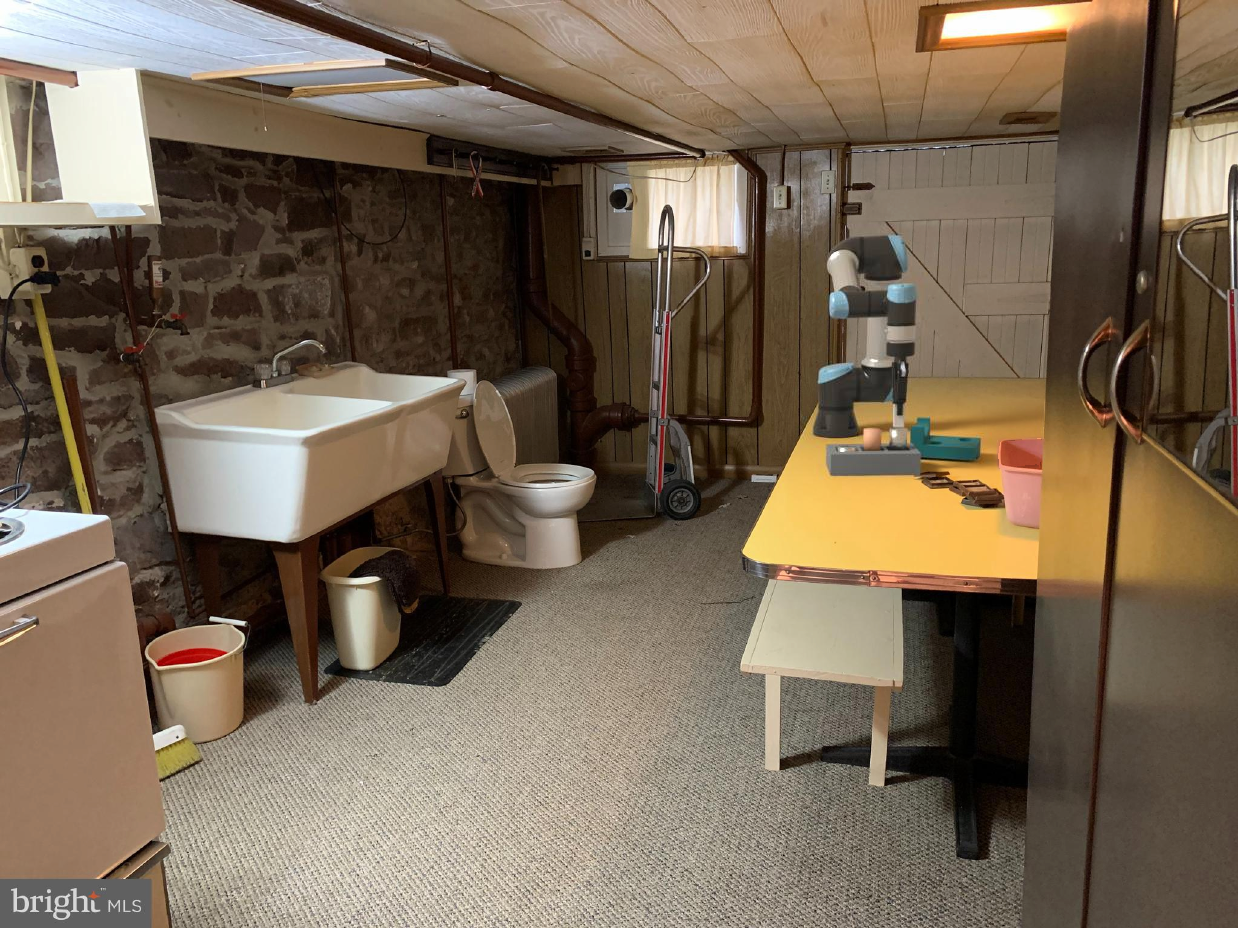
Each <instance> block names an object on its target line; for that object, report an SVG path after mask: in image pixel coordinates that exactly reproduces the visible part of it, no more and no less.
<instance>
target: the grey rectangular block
mask: <svg viewBox="0 0 1238 928" xmlns="http://www.w3.org/2000/svg"><path fill="white" fill-rule="evenodd" d="M844 445H848V446H855V451H838V447H839V446H844ZM825 446H826V448H825V452H826V453H825V454H826V456H825V457H826V458H825V464H826V468H827V470H828V473H829V475H830V476H832V477H833V476H835V477H836V476H837V477H838V476H839V477H842V476H845V477H846V476H847V477H848V476H854V477H855V476H920V475H921V467H922V466H921V463H922V460H921V459H922V457H921V453H920V452H919V451H918V450H917V448H916V447H915V446H914V445H913V444H912V443H910V442H907V451H889V442H888V443H883V442H881V451H863V443H826V444H825Z"/></svg>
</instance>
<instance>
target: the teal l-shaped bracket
mask: <svg viewBox="0 0 1238 928" xmlns="http://www.w3.org/2000/svg"><path fill="white" fill-rule="evenodd" d="M909 431H910V432H909V440H910V441H909V443H912V444H913V445H914V446H915V447H916V448H917V450H918V451H919V452H920V453H921V458H928V459H929V458H931V459H943V460H945V459H947V460H958V461H959V460H960V461H961V460H962V461H976V460H978V459H979V458H980V456H981V445H982V444H981V442H982V438H981V437H968V436H953V435H950V436H949V435H935V434H934V435H933V434H931V417H922V416H921V417H919V416H917V418H916V425H910V429H909Z"/></svg>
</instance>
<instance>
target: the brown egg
mask: <svg viewBox="0 0 1238 928" xmlns="http://www.w3.org/2000/svg"><path fill="white" fill-rule="evenodd" d="M862 439H863V443H862V444H863V451H881V443H882V429H881V428H880V427H879V428H878V427H867V428H866V427H865V428H863V438H862Z"/></svg>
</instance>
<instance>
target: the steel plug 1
mask: <svg viewBox="0 0 1238 928" xmlns="http://www.w3.org/2000/svg"><path fill="white" fill-rule="evenodd" d="M838 451H855V446H848V445H844V446H839V447H838Z"/></svg>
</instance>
